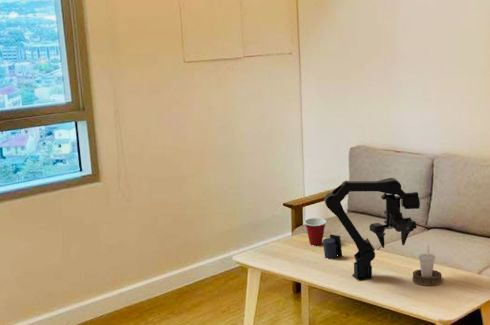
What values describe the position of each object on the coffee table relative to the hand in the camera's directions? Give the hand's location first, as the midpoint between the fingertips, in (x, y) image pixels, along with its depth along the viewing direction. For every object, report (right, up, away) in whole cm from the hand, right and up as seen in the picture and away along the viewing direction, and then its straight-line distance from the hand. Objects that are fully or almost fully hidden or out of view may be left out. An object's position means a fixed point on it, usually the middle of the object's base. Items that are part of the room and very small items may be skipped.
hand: (393, 246), depth 260 cm
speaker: (-21, -9, +30) cm, 38 cm away
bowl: (+13, -13, -4) cm, 19 cm away
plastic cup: (-26, -6, +51) cm, 58 cm away
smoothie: (+13, -13, -4) cm, 18 cm away
